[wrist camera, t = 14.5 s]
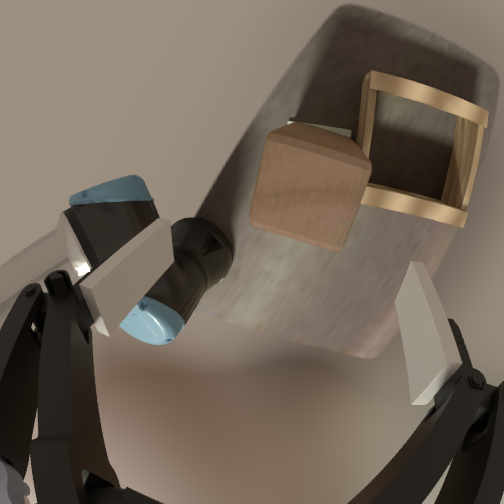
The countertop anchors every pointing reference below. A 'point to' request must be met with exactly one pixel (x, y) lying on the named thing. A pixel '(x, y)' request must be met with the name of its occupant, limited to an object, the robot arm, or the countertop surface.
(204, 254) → the robot arm
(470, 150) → the crate
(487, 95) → the countertop surface
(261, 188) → the wooden block
